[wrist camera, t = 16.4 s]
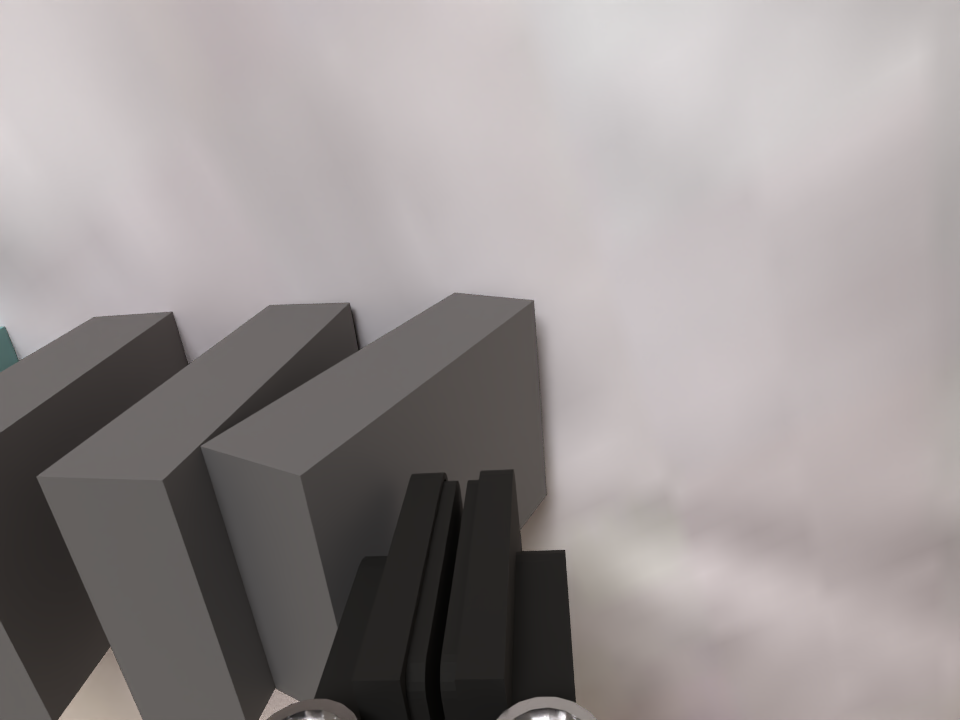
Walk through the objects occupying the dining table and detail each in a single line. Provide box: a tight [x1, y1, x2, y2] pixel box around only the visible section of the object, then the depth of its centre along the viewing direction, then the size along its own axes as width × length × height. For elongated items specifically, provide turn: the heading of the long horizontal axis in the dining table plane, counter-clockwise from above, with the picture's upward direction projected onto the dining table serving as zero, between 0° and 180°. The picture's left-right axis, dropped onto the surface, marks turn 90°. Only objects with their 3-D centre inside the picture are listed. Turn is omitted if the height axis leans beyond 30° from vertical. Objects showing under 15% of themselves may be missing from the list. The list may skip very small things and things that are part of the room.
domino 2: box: [37, 303, 358, 720], centre depth 13 cm, size 2×5×7 cm, turn 5°
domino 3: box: [200, 293, 547, 702], centre depth 13 cm, size 2×5×7 cm, turn 5°
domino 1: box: [0, 312, 188, 720], centre depth 14 cm, size 2×5×7 cm, turn 5°
